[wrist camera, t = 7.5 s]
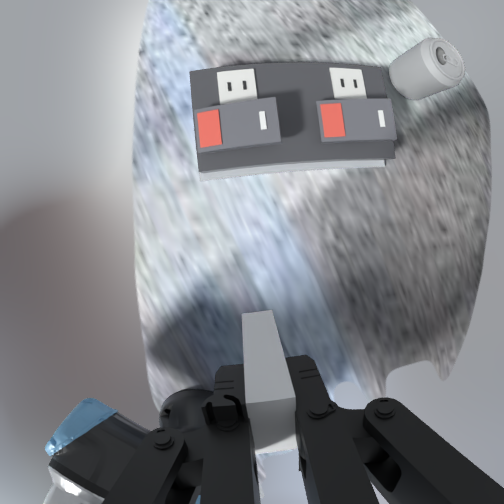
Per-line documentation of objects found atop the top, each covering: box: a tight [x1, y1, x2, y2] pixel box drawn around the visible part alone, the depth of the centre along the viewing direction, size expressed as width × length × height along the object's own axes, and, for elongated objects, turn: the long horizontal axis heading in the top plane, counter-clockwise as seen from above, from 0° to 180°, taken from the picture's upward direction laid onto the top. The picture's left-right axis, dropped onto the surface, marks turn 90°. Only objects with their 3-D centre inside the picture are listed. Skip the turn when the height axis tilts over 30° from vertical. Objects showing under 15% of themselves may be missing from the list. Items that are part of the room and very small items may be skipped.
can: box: [389, 38, 465, 100], centre depth 30 cm, size 8×8×12 cm
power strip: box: [190, 62, 395, 181], centre depth 34 cm, size 15×26×5 cm, turn 96°
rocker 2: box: [316, 99, 397, 144], centre depth 30 cm, size 5×9×2 cm, turn 96°
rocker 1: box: [194, 97, 282, 154], centre depth 30 cm, size 5×9×2 cm, turn 96°
